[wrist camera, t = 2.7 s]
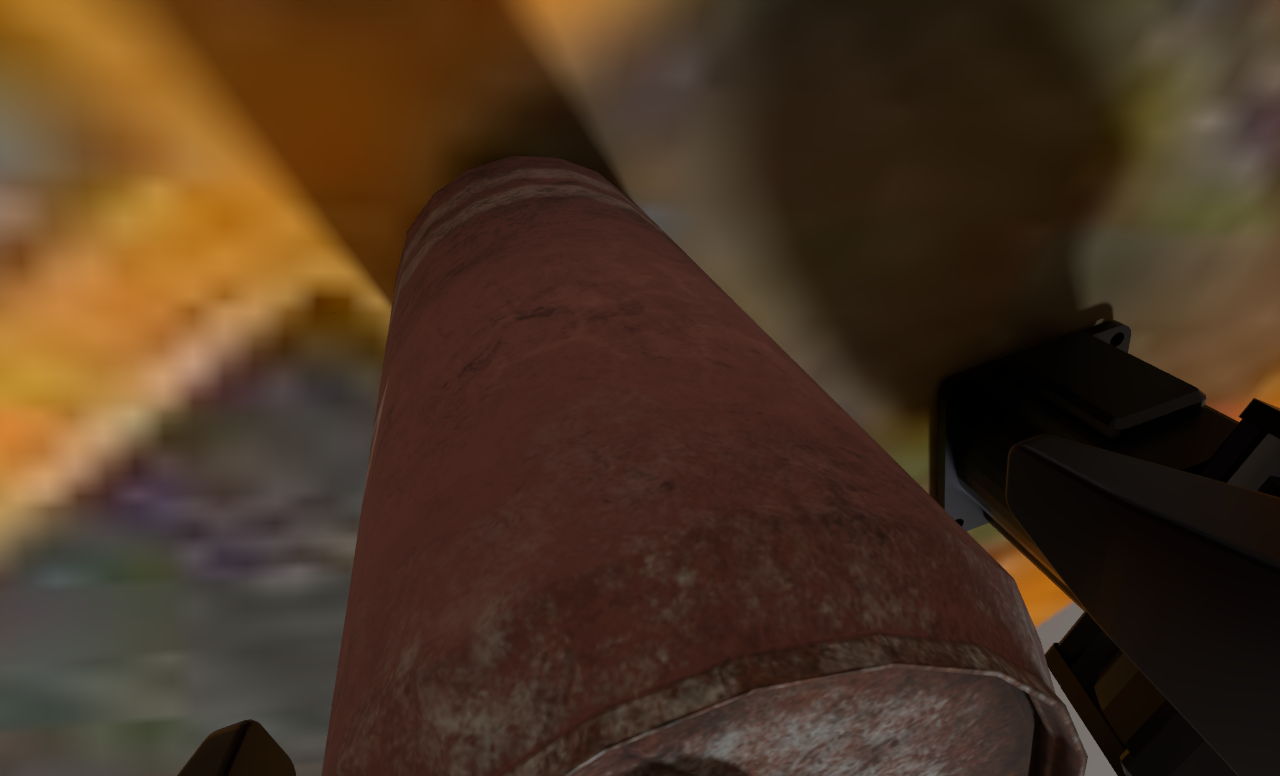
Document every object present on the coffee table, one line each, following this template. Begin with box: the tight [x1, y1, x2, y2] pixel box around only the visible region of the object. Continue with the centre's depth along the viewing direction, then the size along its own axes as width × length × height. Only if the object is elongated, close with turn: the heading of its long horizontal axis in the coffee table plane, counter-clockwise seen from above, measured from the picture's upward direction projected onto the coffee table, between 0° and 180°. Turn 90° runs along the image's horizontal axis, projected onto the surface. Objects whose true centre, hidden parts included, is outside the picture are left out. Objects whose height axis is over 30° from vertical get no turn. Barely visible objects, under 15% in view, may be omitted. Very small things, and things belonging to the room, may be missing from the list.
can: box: [322, 156, 1088, 776], centre depth 11 cm, size 6×6×14 cm
